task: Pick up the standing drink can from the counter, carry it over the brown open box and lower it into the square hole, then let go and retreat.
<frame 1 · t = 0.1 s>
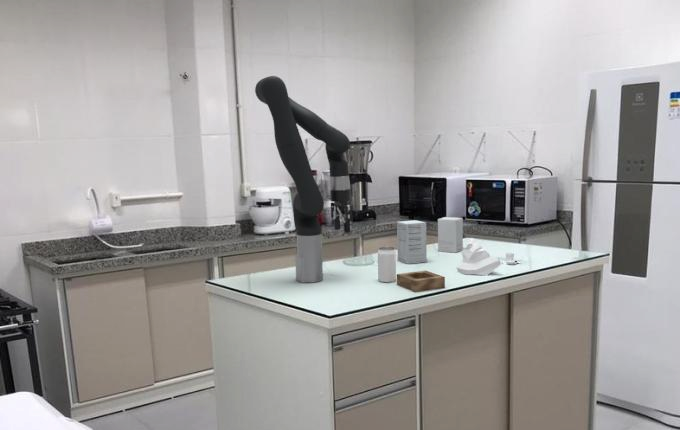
hand: (342, 231, 222), 17 cm above the counter, tool pointing down, fingers open, 8 cm apart
supplement box 2: (450, 251, 271), on the counter
white faceted sculpture: (476, 273, 226), on the counter
supplement box: (411, 261, 249), on the counter
can: (387, 281, 215), on the counter
teacup and saucer: (503, 264, 241), on the counter
brown open box: (420, 286, 206), on the counter
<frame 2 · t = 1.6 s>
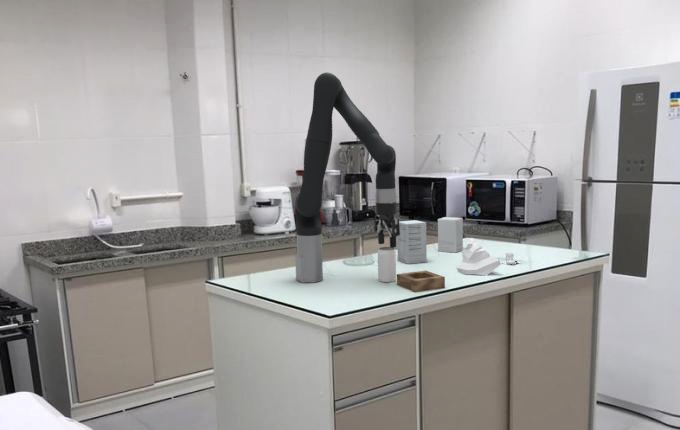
hand: (387, 245, 214), 13 cm above the counter, tool pointing down, fingers open, 8 cm apart
nothing on the counter moved.
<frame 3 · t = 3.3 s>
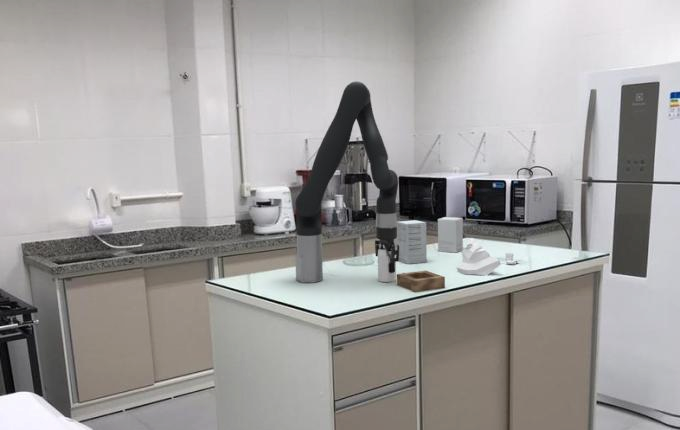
hand: (387, 270, 215), 4 cm above the counter, tool pointing down, fingers closed on can, 6 cm apart
can: (387, 281, 215), on the counter, touching gripper
everything else where it was.
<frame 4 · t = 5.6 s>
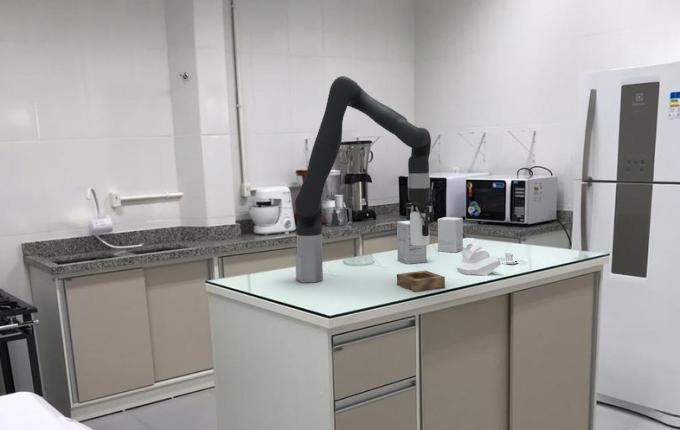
hand: (419, 234, 205), 18 cm above the counter, tool pointing down, fingers closed on can, 6 cm apart
can: (420, 245, 205), point 14 cm above the counter, touching gripper
everything else where it was.
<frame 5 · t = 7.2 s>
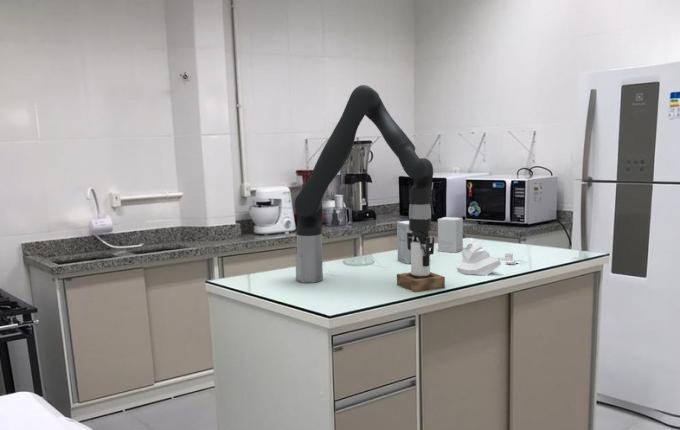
hand: (420, 264, 205), 8 cm above the counter, tool pointing down, fingers closed on can, 6 cm apart
can: (420, 275, 206), point 4 cm above the counter, touching gripper
everything else where it was.
when the fingers open (6 cm above the counter, at t = 8.2 s): can drops 1 cm, resting on brown open box.
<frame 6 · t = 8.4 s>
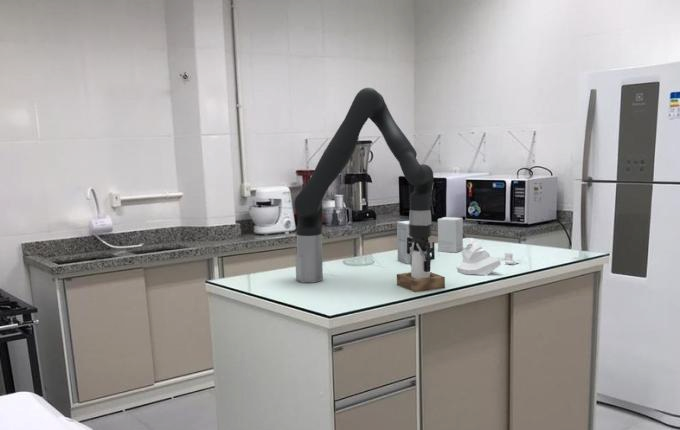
hand: (420, 269, 205), 6 cm above the counter, tool pointing down, fingers open, 8 cm apart
can: (420, 284, 206), point 1 cm above the counter, touching brown open box
everything else where it was.
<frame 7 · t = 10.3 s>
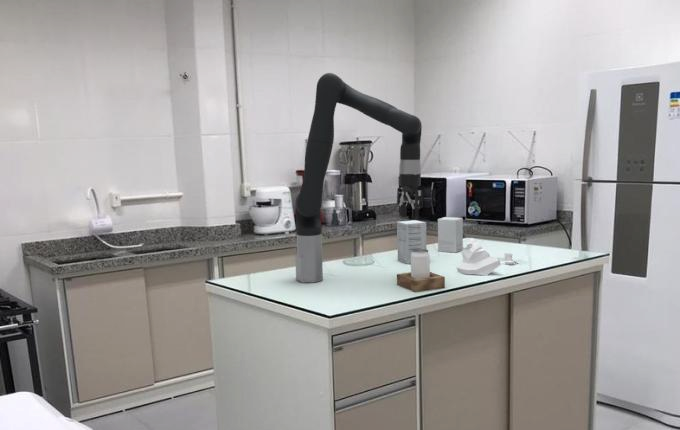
hand: (409, 218, 210), 23 cm above the counter, tool pointing down, fingers open, 8 cm apart
nothing on the counter moved.
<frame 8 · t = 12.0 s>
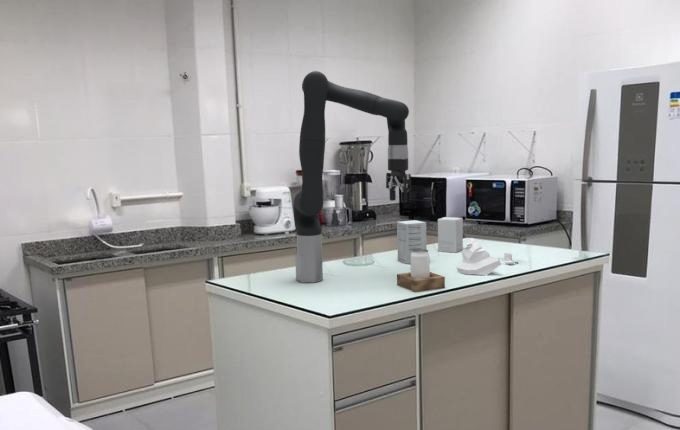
hand: (398, 201, 220), 28 cm above the counter, tool pointing down, fingers open, 8 cm apart
nothing on the counter moved.
at the end: can 0.1 cm from the brown open box (horizontally); can tilted 0°; the gripper is holding nothing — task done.
